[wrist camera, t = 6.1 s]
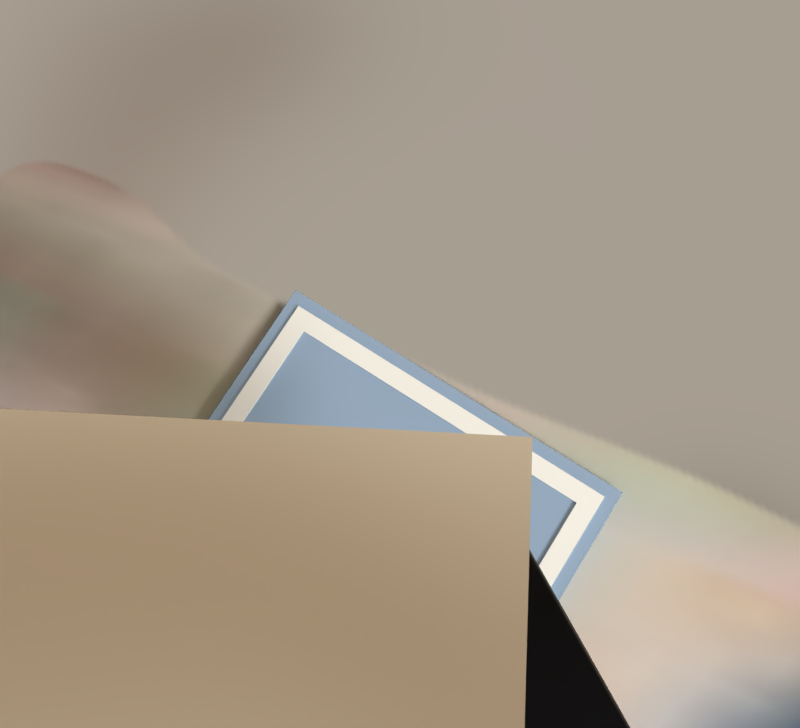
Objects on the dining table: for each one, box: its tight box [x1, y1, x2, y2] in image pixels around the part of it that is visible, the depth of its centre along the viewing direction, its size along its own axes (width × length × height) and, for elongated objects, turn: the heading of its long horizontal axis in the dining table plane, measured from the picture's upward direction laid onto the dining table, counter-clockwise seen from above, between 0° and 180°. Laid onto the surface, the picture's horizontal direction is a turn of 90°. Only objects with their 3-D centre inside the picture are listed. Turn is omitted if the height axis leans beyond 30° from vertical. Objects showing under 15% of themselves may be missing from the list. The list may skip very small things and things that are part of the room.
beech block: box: [0, 409, 532, 728], centre depth 9 cm, size 4×4×12 cm
